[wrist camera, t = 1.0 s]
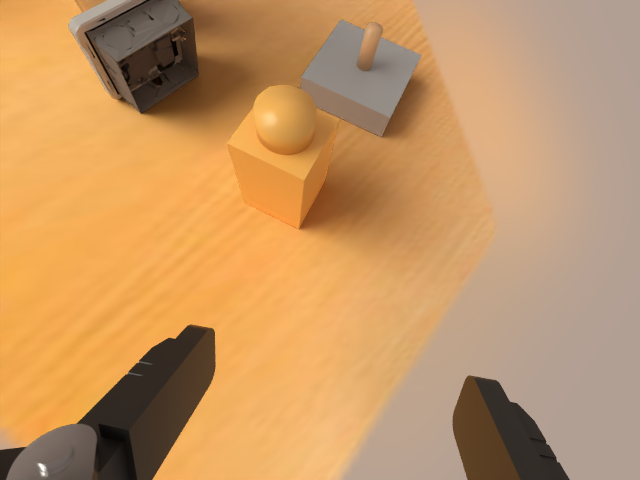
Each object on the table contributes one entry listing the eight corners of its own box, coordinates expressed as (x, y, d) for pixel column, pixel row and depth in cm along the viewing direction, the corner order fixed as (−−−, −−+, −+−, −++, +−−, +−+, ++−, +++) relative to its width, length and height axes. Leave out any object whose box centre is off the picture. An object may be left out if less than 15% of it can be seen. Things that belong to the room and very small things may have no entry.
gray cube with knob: (300, 99, 33) (303, 38, 27) (336, 44, 36) (347, -22, 30) (381, 137, 33) (405, 85, 26) (411, 77, 36) (438, 18, 29)
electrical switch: (181, 52, 34) (152, -44, 25) (214, 82, 33) (196, -4, 25) (109, 97, 31) (47, 7, 22) (145, 130, 30) (96, 52, 22)
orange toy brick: (244, 202, 28) (220, 122, 18) (273, 157, 30) (267, 61, 20) (298, 229, 28) (306, 163, 18) (324, 181, 30) (345, 97, 20)
